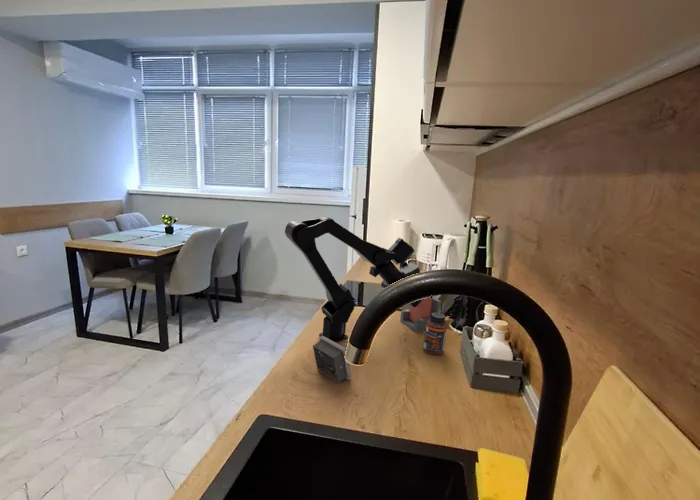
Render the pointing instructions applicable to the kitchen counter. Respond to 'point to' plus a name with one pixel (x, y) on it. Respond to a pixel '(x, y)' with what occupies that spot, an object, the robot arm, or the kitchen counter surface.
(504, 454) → the kitchen counter surface
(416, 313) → the pink block with dome
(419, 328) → the housing
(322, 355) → the electrical switch
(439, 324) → the supplement bottle
